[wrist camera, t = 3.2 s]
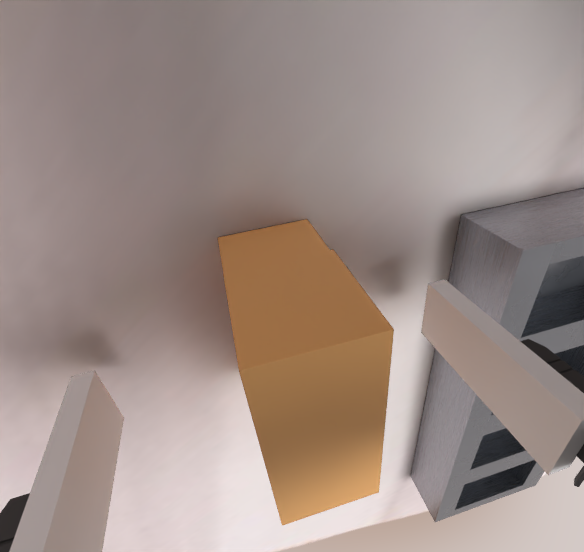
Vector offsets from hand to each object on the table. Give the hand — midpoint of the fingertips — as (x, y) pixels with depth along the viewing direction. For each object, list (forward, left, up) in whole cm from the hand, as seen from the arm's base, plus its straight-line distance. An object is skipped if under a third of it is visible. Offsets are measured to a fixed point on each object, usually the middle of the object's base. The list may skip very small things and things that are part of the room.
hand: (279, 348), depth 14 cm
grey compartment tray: (+9, +14, -3) cm, 17 cm away
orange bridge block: (0, 0, -3) cm, 3 cm away
